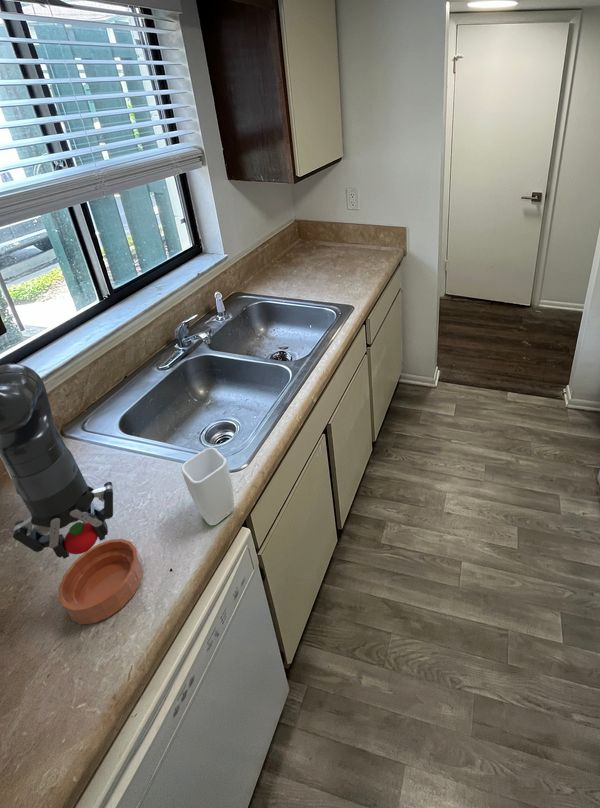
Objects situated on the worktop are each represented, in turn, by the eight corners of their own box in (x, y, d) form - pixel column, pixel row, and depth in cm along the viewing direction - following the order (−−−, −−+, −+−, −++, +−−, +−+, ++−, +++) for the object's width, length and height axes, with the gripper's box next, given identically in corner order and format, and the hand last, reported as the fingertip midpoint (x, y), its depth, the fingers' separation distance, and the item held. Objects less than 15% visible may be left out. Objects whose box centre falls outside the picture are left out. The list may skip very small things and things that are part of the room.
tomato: (69, 566, 74) (58, 547, 72) (69, 543, 77) (59, 524, 75) (102, 549, 76) (93, 530, 74) (101, 528, 80) (92, 509, 78)
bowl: (67, 642, 74) (57, 626, 72) (68, 578, 84) (59, 562, 82) (147, 597, 81) (140, 581, 78) (140, 542, 90) (133, 526, 88)
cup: (194, 514, 95) (177, 466, 89) (224, 491, 100) (211, 444, 94) (210, 534, 91) (195, 486, 85) (242, 509, 96) (229, 462, 90)
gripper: (100, 441, 76) (129, 506, 83) (-7, 483, 68) (35, 550, 76) (102, 472, 70) (133, 538, 77) (-14, 521, 63) (32, 589, 70)
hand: (84, 544), depth 77 cm, fingers closed on tomato, 4 cm apart
